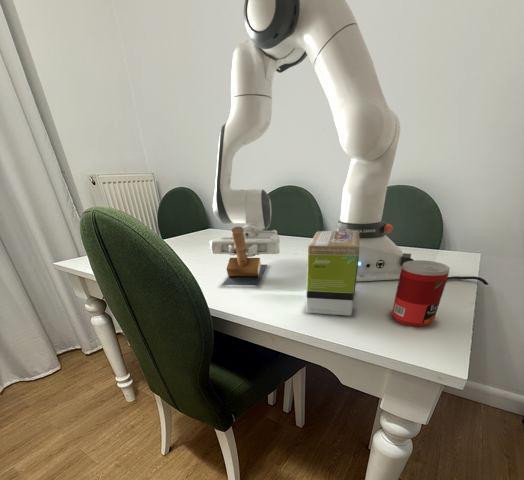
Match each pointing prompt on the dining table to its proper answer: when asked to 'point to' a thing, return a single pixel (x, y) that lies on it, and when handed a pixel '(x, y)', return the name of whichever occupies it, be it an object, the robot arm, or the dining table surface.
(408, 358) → the dining table surface
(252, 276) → the brush
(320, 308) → the tea box
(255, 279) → the mat
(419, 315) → the canned food
